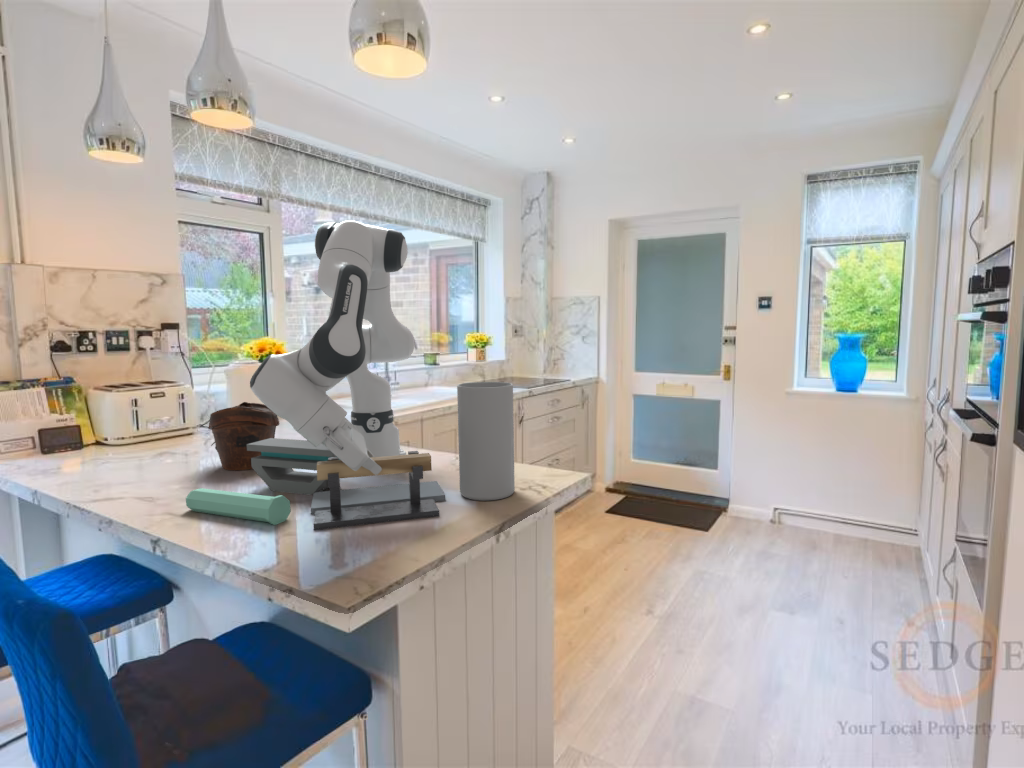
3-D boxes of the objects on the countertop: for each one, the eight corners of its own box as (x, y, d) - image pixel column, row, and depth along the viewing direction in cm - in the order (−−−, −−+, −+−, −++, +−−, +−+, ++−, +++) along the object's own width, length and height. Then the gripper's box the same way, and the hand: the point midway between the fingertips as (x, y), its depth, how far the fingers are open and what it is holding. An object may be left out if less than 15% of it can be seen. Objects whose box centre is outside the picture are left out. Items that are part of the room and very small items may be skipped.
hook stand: (315, 516, 115) (312, 458, 114) (433, 504, 122) (431, 449, 120) (313, 529, 107) (310, 468, 106) (439, 516, 114) (437, 457, 113)
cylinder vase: (521, 487, 133) (519, 382, 130) (504, 503, 121) (502, 388, 119) (472, 484, 137) (469, 381, 134) (451, 499, 125) (448, 387, 122)
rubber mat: (314, 497, 128) (313, 492, 128) (436, 485, 136) (436, 480, 136) (311, 514, 116) (310, 508, 116) (445, 500, 124) (445, 494, 124)
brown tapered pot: (261, 453, 174) (256, 396, 172) (294, 463, 161) (290, 401, 159) (199, 466, 160) (194, 403, 158) (230, 478, 147) (225, 410, 145)
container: (183, 483, 119) (271, 493, 109) (207, 487, 125) (293, 497, 115) (176, 511, 118) (264, 524, 108) (200, 514, 123) (287, 526, 113)
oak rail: (318, 476, 111) (317, 461, 111) (429, 467, 117) (429, 452, 117) (317, 480, 108) (316, 465, 108) (431, 470, 115) (431, 456, 114)
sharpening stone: (249, 488, 136) (246, 444, 135) (273, 480, 143) (270, 438, 142) (335, 497, 128) (333, 450, 127) (356, 488, 135) (354, 443, 134)
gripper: (335, 420, 100) (394, 469, 104) (337, 405, 119) (386, 447, 123) (310, 446, 99) (370, 495, 103) (315, 427, 118) (365, 468, 122)
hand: (378, 468), depth 113 cm, fingers closed on oak rail, 3 cm apart
